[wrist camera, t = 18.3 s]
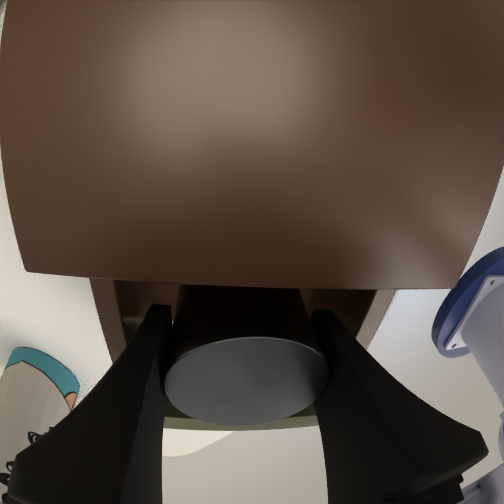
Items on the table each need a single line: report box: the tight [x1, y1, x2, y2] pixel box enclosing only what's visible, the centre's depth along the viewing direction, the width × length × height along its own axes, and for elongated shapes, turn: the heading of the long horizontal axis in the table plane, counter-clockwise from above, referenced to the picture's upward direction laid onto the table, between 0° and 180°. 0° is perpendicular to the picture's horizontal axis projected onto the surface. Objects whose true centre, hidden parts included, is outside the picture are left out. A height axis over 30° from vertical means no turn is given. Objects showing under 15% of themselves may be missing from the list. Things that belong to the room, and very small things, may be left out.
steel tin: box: [163, 284, 329, 426], centre depth 10 cm, size 5×5×4 cm
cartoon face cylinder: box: [0, 348, 80, 504], centre depth 13 cm, size 7×7×15 cm
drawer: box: [89, 278, 397, 431], centre depth 12 cm, size 15×10×6 cm
